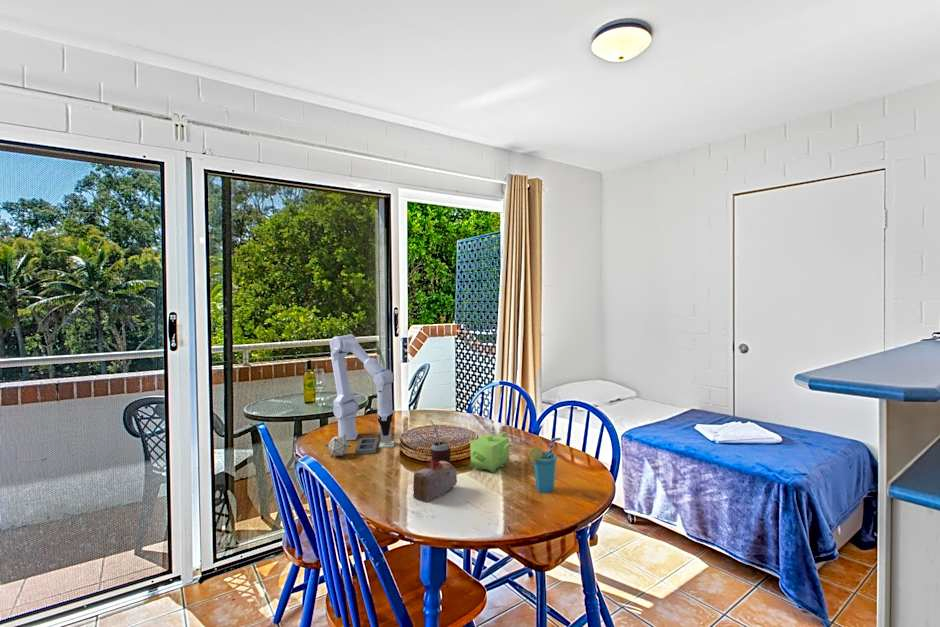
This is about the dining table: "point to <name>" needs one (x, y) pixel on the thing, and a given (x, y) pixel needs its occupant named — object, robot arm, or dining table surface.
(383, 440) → the grey knob block
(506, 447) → the green knobbed block
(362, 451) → the metal frame
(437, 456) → the mate gourd
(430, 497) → the food item
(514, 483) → the dining table surface
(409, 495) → the dining table surface
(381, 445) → the tray
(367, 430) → the dining table surface
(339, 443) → the game die
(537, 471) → the cup
